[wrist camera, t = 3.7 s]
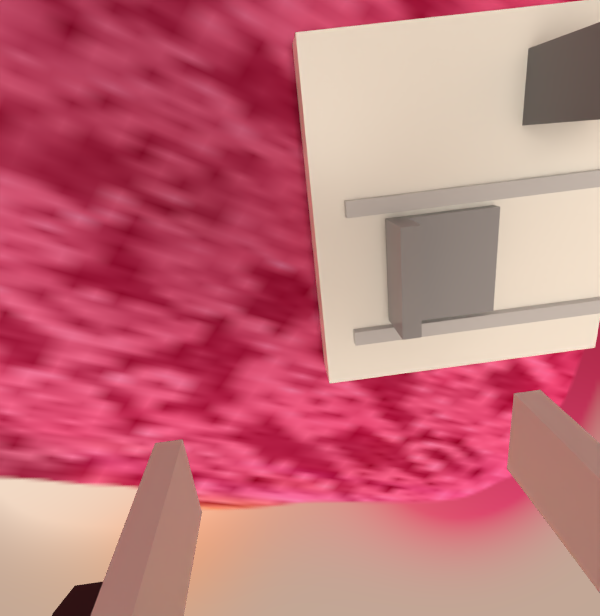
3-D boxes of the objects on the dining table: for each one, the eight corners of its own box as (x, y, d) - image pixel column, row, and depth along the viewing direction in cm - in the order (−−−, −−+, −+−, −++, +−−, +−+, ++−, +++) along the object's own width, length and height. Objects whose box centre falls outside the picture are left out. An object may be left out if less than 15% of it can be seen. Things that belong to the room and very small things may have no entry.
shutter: (388, 319, 29) (402, 339, 26) (385, 218, 26) (400, 227, 23) (487, 306, 29) (512, 325, 26) (493, 205, 26) (522, 212, 23)
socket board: (324, 363, 33) (330, 387, 30) (292, 44, 25) (296, 29, 22) (567, 330, 34) (601, 351, 30) (613, 9, 26) (665, -12, 22)
